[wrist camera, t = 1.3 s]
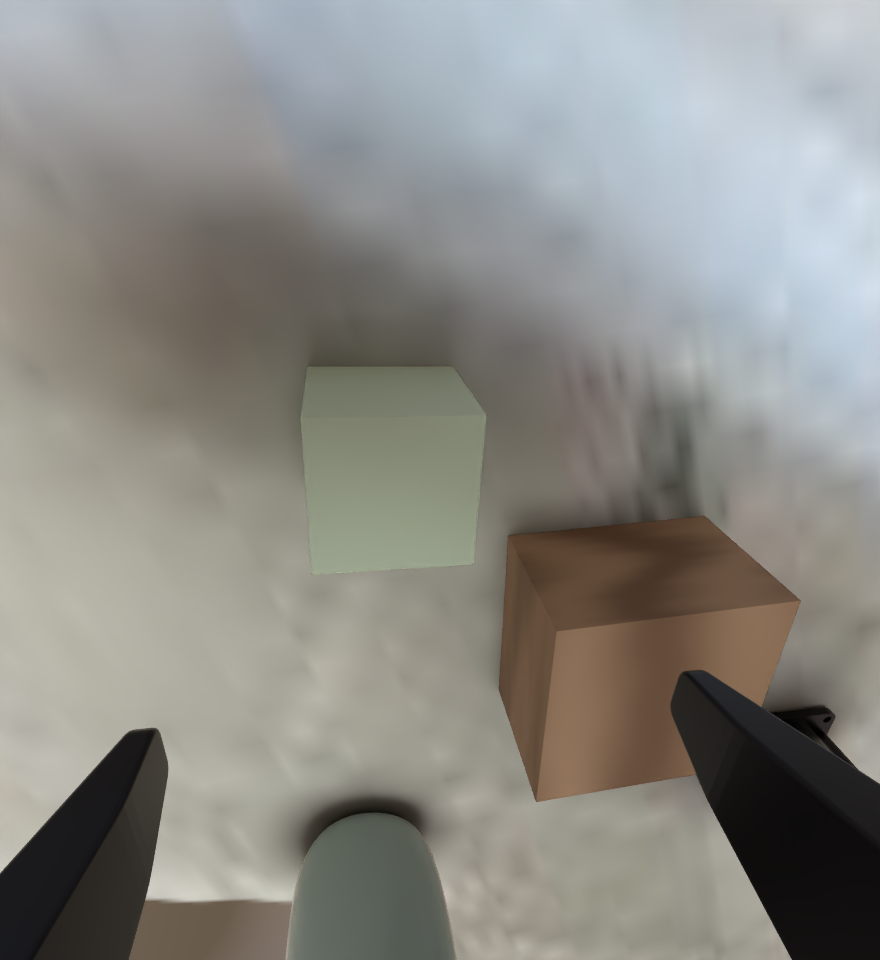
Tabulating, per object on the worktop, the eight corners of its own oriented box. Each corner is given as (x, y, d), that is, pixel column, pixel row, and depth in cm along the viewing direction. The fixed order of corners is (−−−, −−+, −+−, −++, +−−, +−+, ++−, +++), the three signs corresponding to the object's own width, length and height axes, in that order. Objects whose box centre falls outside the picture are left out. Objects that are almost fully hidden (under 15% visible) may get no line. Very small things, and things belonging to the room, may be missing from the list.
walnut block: (702, 514, 25) (801, 600, 20) (665, 663, 29) (739, 767, 24) (507, 533, 24) (556, 631, 18) (497, 686, 28) (536, 801, 23)
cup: (304, 788, 28) (292, 1054, 20) (449, 790, 31) (496, 1031, 22) (282, 879, 32) (263, 1142, 23) (414, 875, 34) (444, 1115, 25)
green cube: (452, 365, 20) (486, 415, 15) (445, 490, 22) (473, 564, 18) (307, 365, 19) (300, 418, 15) (315, 495, 21) (311, 574, 17)
